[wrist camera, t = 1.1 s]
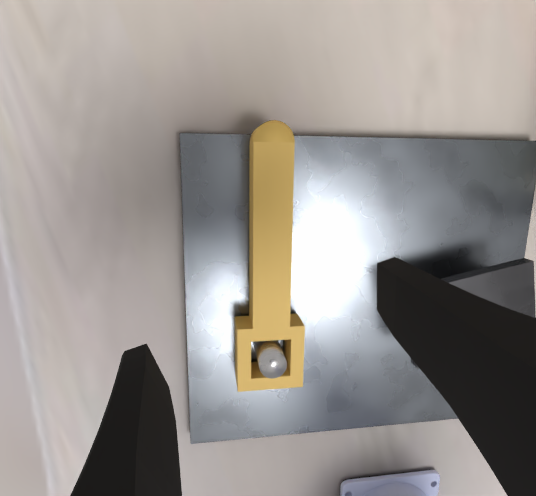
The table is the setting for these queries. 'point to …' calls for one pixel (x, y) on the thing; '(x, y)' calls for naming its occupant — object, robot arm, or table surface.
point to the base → (338, 270)
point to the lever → (270, 261)
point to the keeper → (501, 285)
